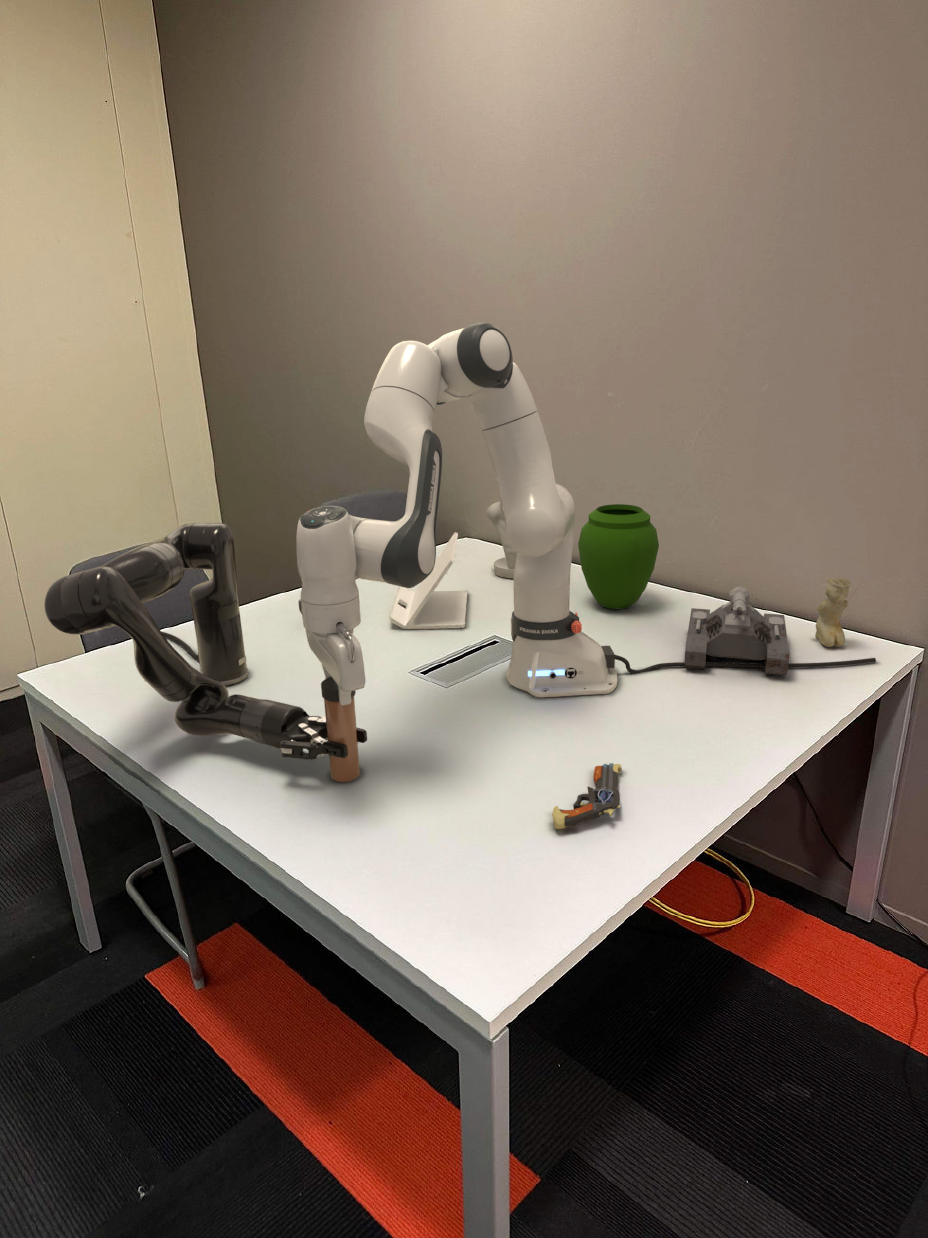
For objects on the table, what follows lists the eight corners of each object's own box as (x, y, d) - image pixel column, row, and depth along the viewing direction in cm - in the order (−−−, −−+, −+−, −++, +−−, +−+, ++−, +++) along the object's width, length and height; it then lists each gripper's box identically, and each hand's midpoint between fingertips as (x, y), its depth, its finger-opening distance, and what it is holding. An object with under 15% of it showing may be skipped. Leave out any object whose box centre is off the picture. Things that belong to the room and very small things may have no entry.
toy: (689, 628, 198) (694, 566, 192) (781, 635, 192) (788, 571, 187) (683, 672, 175) (688, 603, 170) (787, 681, 170) (795, 610, 164)
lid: (361, 695, 136) (361, 683, 135) (332, 704, 133) (331, 693, 132) (345, 683, 140) (344, 672, 139) (315, 693, 137) (314, 681, 136)
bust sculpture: (503, 593, 225) (502, 460, 212) (483, 567, 247) (480, 445, 234) (562, 587, 228) (563, 456, 215) (536, 562, 250) (536, 441, 237)
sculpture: (821, 649, 184) (830, 583, 179) (808, 637, 191) (816, 573, 185) (848, 649, 184) (858, 582, 179) (834, 636, 191) (843, 572, 185)
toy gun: (550, 818, 123) (620, 816, 121) (560, 760, 141) (621, 758, 139) (552, 835, 124) (621, 833, 122) (562, 775, 142) (622, 773, 140)
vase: (599, 587, 227) (601, 497, 218) (668, 600, 216) (673, 505, 208) (562, 608, 212) (564, 513, 204) (634, 623, 202) (639, 523, 193)
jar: (350, 784, 139) (343, 694, 133) (325, 778, 140) (317, 689, 135) (365, 770, 143) (358, 682, 137) (340, 764, 144) (333, 677, 139)
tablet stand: (467, 593, 225) (465, 531, 219) (465, 628, 202) (462, 559, 196) (399, 594, 226) (395, 532, 220) (388, 629, 203) (384, 560, 197)
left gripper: (242, 721, 138) (328, 743, 131) (297, 687, 150) (379, 705, 143) (248, 762, 141) (332, 785, 133) (302, 725, 153) (382, 744, 145)
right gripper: (372, 631, 124) (378, 717, 129) (332, 591, 141) (339, 668, 146) (330, 639, 121) (338, 726, 126) (295, 597, 139) (303, 675, 144)
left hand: (355, 744), depth 138 cm, fingers closed on jar, 5 cm apart
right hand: (338, 694), depth 136 cm, fingers closed on lid, 5 cm apart
